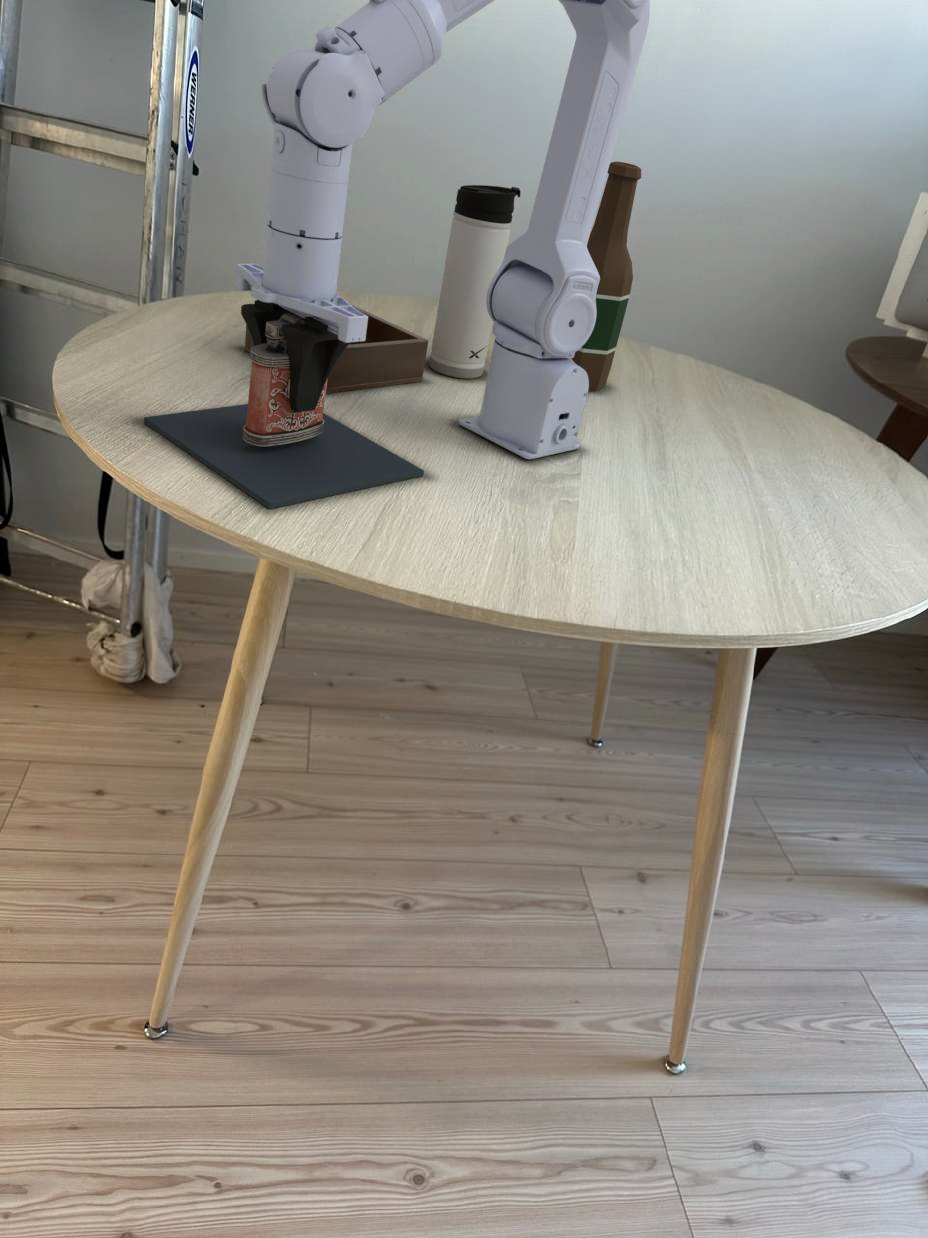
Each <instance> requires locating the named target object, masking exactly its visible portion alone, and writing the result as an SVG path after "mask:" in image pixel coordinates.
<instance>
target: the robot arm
mask: <svg viewBox="0 0 928 1238" xmlns="http://www.w3.org/2000/svg"><path fill="white" fill-rule="evenodd" d="M494 1H495V0H369V1H368V2H367V3H366V4H365V5H363V6H361V7H360V8H359V9H357V11H355V12H354V13H352V14H351V15H350V16H347V18H345V19H344V20H343V21H341V22H340V23H339V24H338V25H336V26H335V27H332V26H328V25H324V26H323V27H322V28H321V29H319V30H318V31H316V33H315V37H316V42H315V46H314V48H313V49H312V48H309V47H296V48H292V49H290V50H288V51H285V52H284V53H282V55H280V56H279V57H278V58H277V60H276V61H275V62H274V64H273V66H272V67H271V68H272V69H273V70H272V73H269V74H268V79H267V82H265V83H262V84H261V98H262V102H263V106H264V110H265V112H266V114H267V115H268V117H269V119H270V121H271V124H272V126H273V141H272V152H271V154H272V155H271V162H270V163H271V165H270V178H269V189H268V201H267V202H268V203H267V215H266V217H267V218H266V230H265V231H266V233H265V246H264V261H263V266H262V265H260V264H257V263H235V275H234V276H235V278H234V288H235V289H237V290H239V291H241V292H248V291H249V292H250V297H252V298H254V299H256V300H254V303H245V304H242V305H241V307H240V314H241V317H242V319H243V321H244V322H245V326H246V325H247V327H248V329H249V332H250V334H251V337H252V340H253V343H254V346H257V345H261V344H264V343H267V336H266V335H265V333H266V323H267V322H270V321H279V320H280V318H281V316H282V315H284V314H291V315H293V316H295V317H297V318H304V319H305V321H304V324H302V323H299V324H283V325H282V332H283V335H284V338H285V341H286V345H287V350H288V356H289V364H290V405H291V410H293V411H295V412H304V411H311V410H315V409H316V406H317V404H318V401H319V398H320V396H321V393H322V390H323V388H324V385H325V383H326V380H327V378H328V376H329V374H330V372H331V370H332V368H333V366H334V364H335V363H336V361H337V360H338V358H339V357H340V355H341V354H342V352H343V351H344V350H345V348H346V347H347V346H348V345H349V344H350V342H361V341H365V339H366V331H367V323H368V316H367V315H365V314H363V313H361V312H359V311H358V310H356V309H355V308H354V307H353V306H354V305H353V304H351V303H349V302H348V301H347V300H346V299H345V298H344V297H343V296H342V295H340V294H339V293H338V292H337V287H338V279H339V270H340V263H341V262H340V260H341V252H342V246H343V245H342V244H343V234H344V225H345V219H346V217H345V216H346V207H347V198H348V190H349V181H350V174H351V173H350V172H351V162H352V154H353V143H354V142H357V141H360V140H362V139H363V138H364V137H365V135H366V134H367V132H368V131H369V128H370V126H371V125H372V124H371V123H372V121H373V118H374V114H375V111H376V109H378V107H379V106H381V105H382V104H383V103H385V102H386V101H387V100H388V99H390V98H392V96H394V95H395V94H397V93H398V92H400V90H402V89H404V87H406V86H407V85H408V84H410V83H411V82H412V81H414V80H415V79H416V78H418V77H419V76H420V75H421V74H423V73H424V72H425V71H427V70H428V69H429V68H431V67H433V65H435V64H436V63H437V62H438V61H439V60H440V59H441V57H442V54H443V50H444V42H445V37H446V33H447V32H449V31H451V30H452V29H454V28H455V27H457V26H458V25H460V24H461V23H463V22H464V21H466V20H468V19H469V18H471V17H472V16H474V15H475V14H476V13H478V12H479V11H481V10H483V9H484V8H485V7H488V5H490V4H491V3H493V2H494ZM557 1H558V2H559V3H560V4H561V5H562V7H563V9H564V11H565V13H566V15H567V17H568V19H569V21H570V23H571V25H572V27H573V29H574V31H575V34H576V35H575V41H574V45H573V49H572V53H571V57H570V60H569V65H568V69H567V73H566V77H565V81H564V84H563V89H562V92H561V96H560V99H559V103H558V104H559V105H558V108H557V112H556V116H555V120H554V125H553V128H552V131H551V136H550V140H549V143H548V148H547V151H546V156H545V158H544V159H545V160H544V164H543V167H542V172H541V175H540V179H539V184H538V188H537V191H536V196H535V199H534V203H533V206H532V212H531V215H530V220H529V224H528V226H527V230H526V231H525V232H523V234H521V235H520V236H519V237H516V239H515V240H513V241H511V242H510V243H508V245H507V248H506V251H505V255H504V259H503V262H502V264H501V266H500V268H499V270H498V271H497V273H496V274H495V275H494V277H493V278H492V280H491V282H490V285H489V287H488V291H487V296H486V306H487V311H488V314H489V316H490V317H491V319H492V320H493V325H492V330H491V333H492V334H493V335H494V341H493V346H492V351H491V356H490V360H489V361H490V362H489V367H488V372H487V377H486V382H485V387H484V392H483V398H482V404H481V408H480V412H479V415H478V416H477V415H476V416H472V417H465V418H460V419H459V422H458V423H459V425H460V426H462V427H464V428H465V429H467V430H470V431H471V432H473V433H475V434H477V435H479V436H481V437H483V438H485V439H487V440H488V441H491V442H493V443H494V444H496V445H498V446H500V447H502V448H504V449H506V450H508V451H509V452H511V453H514V454H515V455H518V456H519V457H521V458H523V459H526V460H534V459H538V458H542V457H543V458H544V457H548V456H551V455H556V454H557V455H558V454H561V453H566V452H570V451H574V450H578V449H579V448H580V443H578V442H577V438H578V435H579V430H580V428H581V427H580V426H581V424H582V423H581V422H582V419H583V415H584V411H585V407H586V402H587V399H588V395H589V394H588V393H589V391H588V390H589V379H588V375H587V373H586V371H585V370H584V369H583V368H581V367H580V366H578V365H577V364H575V363H574V361H573V360H572V359H571V358H574V355H575V352H576V351H578V350H579V349H580V348H581V347H582V346H583V345H584V344H585V343H586V341H587V340H588V339H589V337H590V335H591V333H592V331H593V329H594V326H595V322H596V315H597V310H596V293H597V288H598V285H599V281H600V276H599V273H598V271H597V269H596V267H595V265H594V262H593V260H592V258H591V256H590V254H589V252H588V249H587V243H588V239H589V236H590V233H591V231H592V228H593V226H594V223H595V219H596V216H597V212H598V209H599V205H600V201H601V198H602V194H603V191H604V187H605V186H604V185H605V184H606V180H607V177H608V168H609V165H610V163H611V162H612V157H613V153H614V151H615V148H616V144H617V139H618V136H619V133H620V129H621V126H622V121H623V119H624V115H625V112H626V108H627V104H628V101H629V97H630V93H631V90H632V88H633V87H632V86H633V82H634V79H635V75H636V71H637V68H638V65H639V62H640V58H641V54H642V51H643V47H644V43H645V40H646V38H647V33H648V28H649V24H650V13H651V12H650V10H651V9H650V8H651V7H650V6H651V0H557ZM350 304H351V305H350ZM352 305H353V306H352Z"/></svg>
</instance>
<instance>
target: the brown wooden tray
mask: <svg viewBox="0 0 928 1238" xmlns="http://www.w3.org/2000/svg"><path fill="white" fill-rule="evenodd" d="M349 304H350V305H352V306H353V307H354V308H355V309H356V310H358V311H359V312H361V313H363V314H365V315H367V316H368V323H367V331H366V339H365V341H361V342H350V344H349V345H348V346H347V347H346V348H345V350H344V351H343V352H342V354H341V355H340V357H339V358H338V360H337V361H336V363H335V364H334V366H333V368H332V370H331V372H330V374H329V376H328V380H327V387H326V394H332V393H339V392H347V391H355V390H363V389H371V388H379V387H386V386H396V385H403V384H412V383H419V382H423V379H424V372H425V371H424V370H425V365H426V360H427V359H426V358H427V353H428V348H429V340H428V339H426V338H424V337H422V336H420V335H418V334H416V333H414V332H412V331H409V330H408V329H405V328H403V327H402V326H401V327H400V326H398V325H396V324H394V323H392V322H390V321H388V320H385V319H384V318H381V317H379V316H377V315H375V314H373V313H370V312H369V311H367V310H364V309H363V308H359V307H358V306H355V305H353V304H351V303H349ZM244 335H245V337H244V346H243V347H244V349H243V350H244V351H245V352H247V353H249V354H250V349H251V347H253V346H254V343H253V340H252V337H251V334H250V332H249V329H248V327H247V325H246V324H245V334H244Z"/></svg>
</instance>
